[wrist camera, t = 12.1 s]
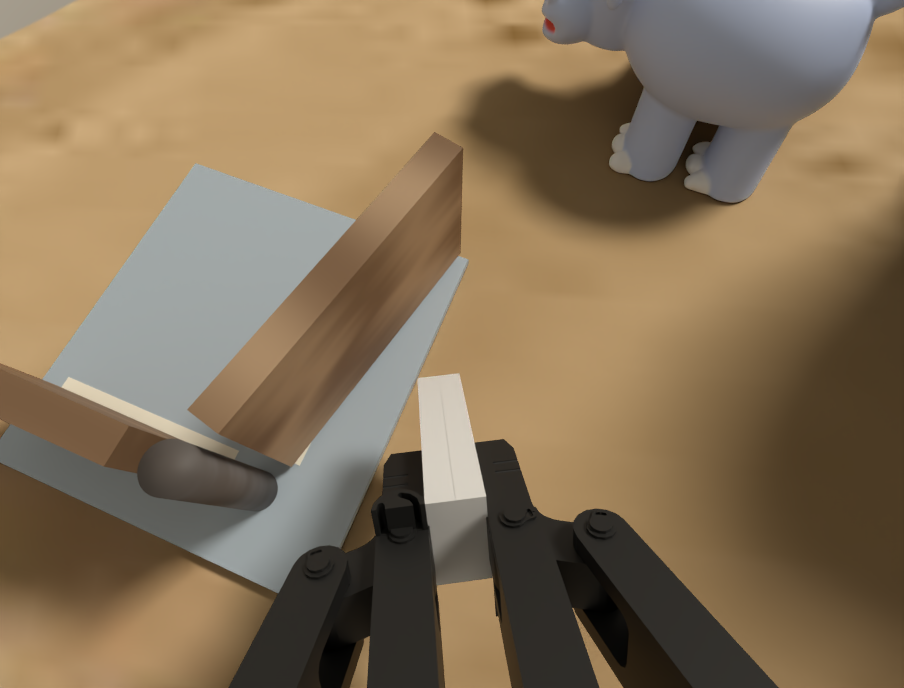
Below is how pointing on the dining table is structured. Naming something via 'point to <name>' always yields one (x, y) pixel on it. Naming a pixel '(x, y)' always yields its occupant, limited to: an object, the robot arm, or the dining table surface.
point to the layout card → (206, 354)
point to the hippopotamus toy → (720, 76)
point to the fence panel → (342, 312)
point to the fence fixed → (132, 446)
